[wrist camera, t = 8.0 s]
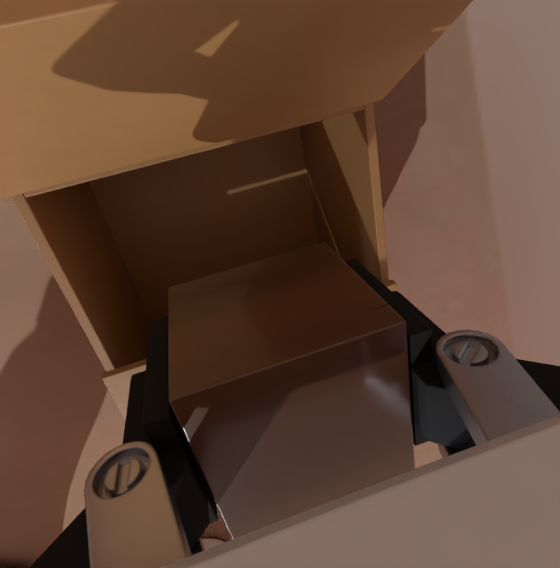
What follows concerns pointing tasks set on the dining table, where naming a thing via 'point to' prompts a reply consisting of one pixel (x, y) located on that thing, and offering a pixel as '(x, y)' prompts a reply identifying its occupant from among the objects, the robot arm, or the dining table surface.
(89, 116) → the flap
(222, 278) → the block
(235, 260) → the carton
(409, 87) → the dining table surface
